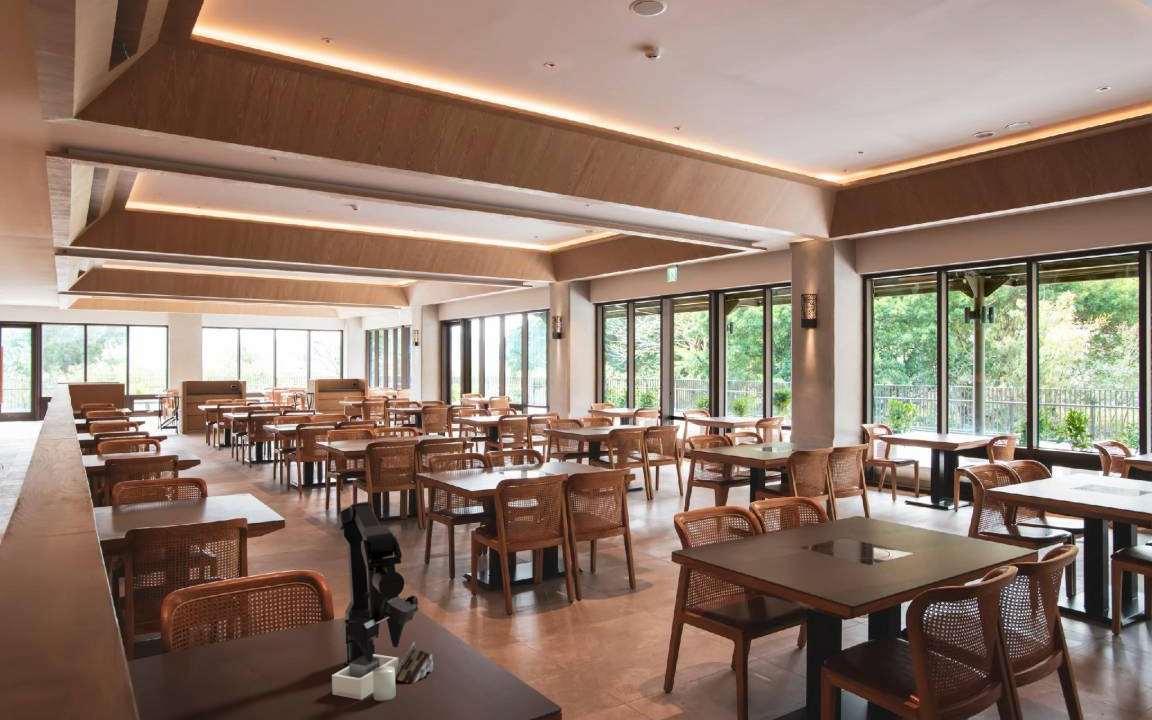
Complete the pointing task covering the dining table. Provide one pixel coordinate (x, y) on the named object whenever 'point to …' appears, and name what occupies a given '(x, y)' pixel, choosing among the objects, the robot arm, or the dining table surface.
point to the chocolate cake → (414, 665)
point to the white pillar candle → (384, 683)
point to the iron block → (362, 666)
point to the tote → (358, 680)
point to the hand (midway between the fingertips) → (383, 654)
